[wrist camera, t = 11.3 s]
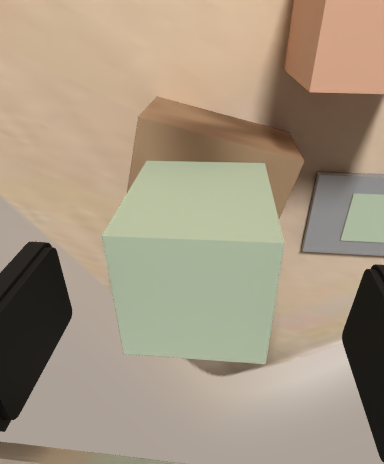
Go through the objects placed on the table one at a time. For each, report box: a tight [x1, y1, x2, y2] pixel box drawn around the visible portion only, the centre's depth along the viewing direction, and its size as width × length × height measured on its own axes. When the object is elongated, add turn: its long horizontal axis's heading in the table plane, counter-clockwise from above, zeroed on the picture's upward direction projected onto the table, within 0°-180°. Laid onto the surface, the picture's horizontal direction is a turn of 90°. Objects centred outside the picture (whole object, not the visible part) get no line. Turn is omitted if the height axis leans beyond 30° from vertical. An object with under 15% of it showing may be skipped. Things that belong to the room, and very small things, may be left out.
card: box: [302, 172, 384, 256], centre depth 19 cm, size 7×5×1 cm
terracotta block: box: [284, 0, 384, 94], centre depth 12 cm, size 5×5×6 cm
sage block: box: [102, 161, 284, 364], centre depth 13 cm, size 5×5×6 cm
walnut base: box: [127, 97, 305, 219], centre depth 18 cm, size 7×7×4 cm
